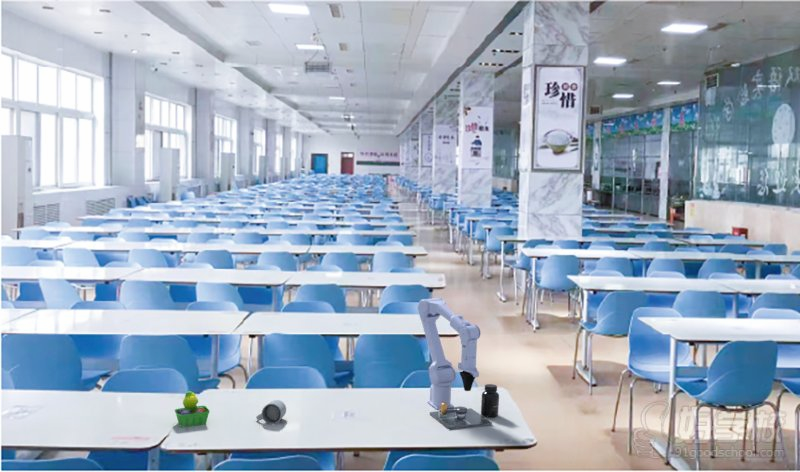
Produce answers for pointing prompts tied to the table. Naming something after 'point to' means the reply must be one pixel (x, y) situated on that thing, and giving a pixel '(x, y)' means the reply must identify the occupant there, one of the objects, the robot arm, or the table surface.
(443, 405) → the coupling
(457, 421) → the base
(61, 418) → the table surface
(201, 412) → the fruit basket
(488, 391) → the supplement bottle
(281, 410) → the ceramic mug
